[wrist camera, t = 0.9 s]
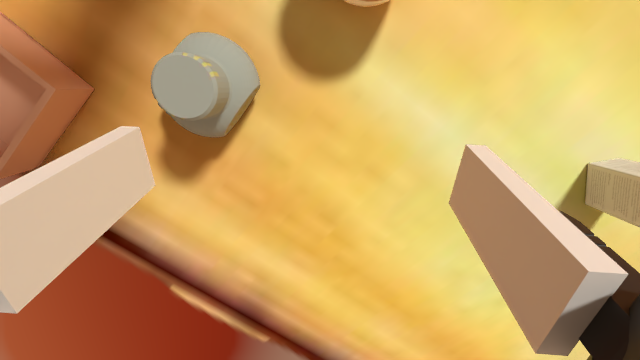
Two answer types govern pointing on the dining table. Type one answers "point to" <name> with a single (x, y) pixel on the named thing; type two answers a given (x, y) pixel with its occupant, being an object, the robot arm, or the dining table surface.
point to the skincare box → (615, 188)
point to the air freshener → (205, 83)
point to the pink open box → (33, 100)
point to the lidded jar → (366, 2)
